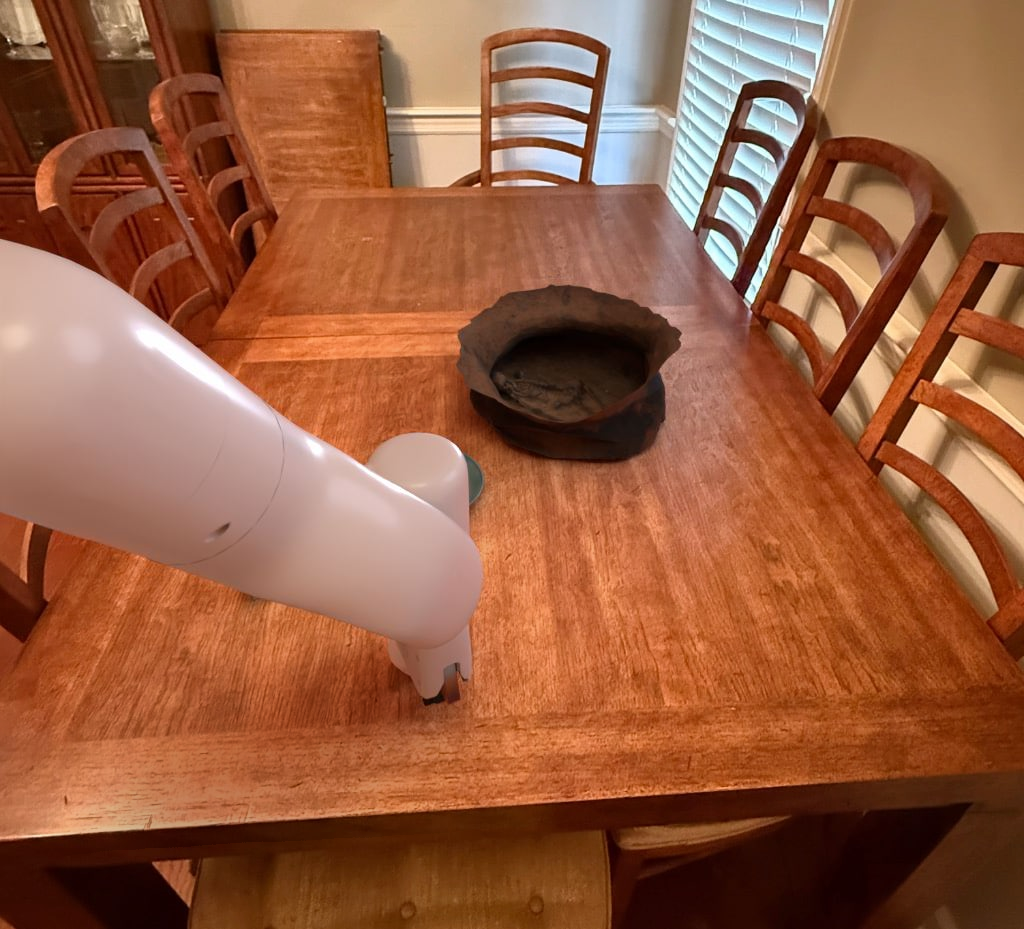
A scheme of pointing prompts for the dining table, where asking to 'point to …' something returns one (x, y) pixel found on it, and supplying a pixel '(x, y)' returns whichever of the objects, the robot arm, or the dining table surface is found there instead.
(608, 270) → the dining table surface
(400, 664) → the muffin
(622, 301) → the bowl
